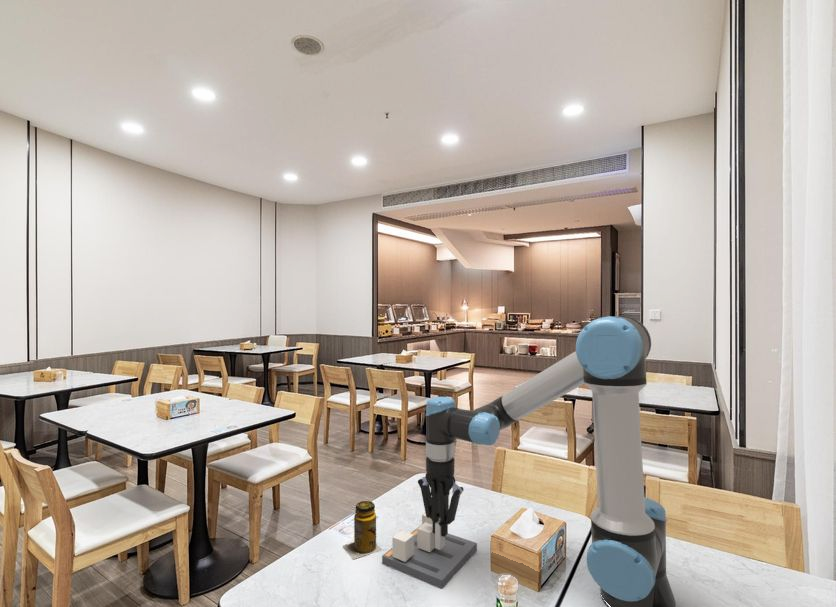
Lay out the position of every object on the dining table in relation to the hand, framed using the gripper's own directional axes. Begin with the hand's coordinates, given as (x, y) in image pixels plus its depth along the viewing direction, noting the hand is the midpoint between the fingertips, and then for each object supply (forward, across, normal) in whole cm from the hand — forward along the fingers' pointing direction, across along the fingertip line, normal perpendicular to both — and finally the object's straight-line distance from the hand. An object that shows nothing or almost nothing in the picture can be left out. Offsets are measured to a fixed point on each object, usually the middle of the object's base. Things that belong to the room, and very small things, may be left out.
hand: (440, 546), depth 112 cm
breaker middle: (+1, +4, 0) cm, 4 cm away
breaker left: (+1, +7, +7) cm, 10 cm away
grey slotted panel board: (+4, +3, 0) cm, 5 cm away
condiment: (+4, +21, +7) cm, 22 cm away
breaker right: (+1, +7, -7) cm, 10 cm away
